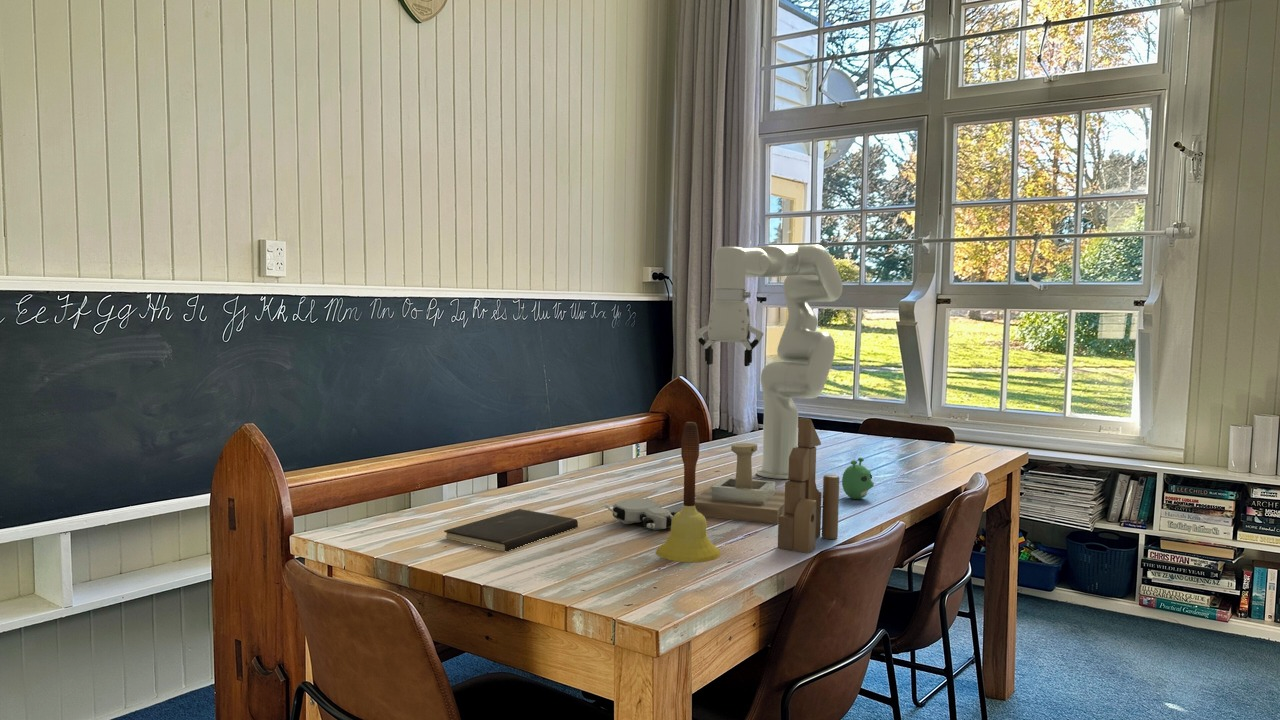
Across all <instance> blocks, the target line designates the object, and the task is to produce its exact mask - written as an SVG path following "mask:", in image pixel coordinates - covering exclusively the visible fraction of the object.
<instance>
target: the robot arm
mask: <svg viewBox="0 0 1280 720" xmlns="http://www.w3.org/2000/svg"><path fill="white" fill-rule="evenodd" d="M713 269H714V301H712V302H711V304H710V310H709V315H708V317H709V318H708V324H707V325H705V326H703V327H701V328H699V329H696V330H695V331H694V333H695V336H696V338H697V340H698V342H699V343H700V345H701V346H702V347H703V349H704V361H705V362H706V365H707V366H711V365H713V363H714V361H713V360H714V349H713V348H712V347H713V345H714V344H715V343H716V342H718V343H719V342H720V343H742V344H743V346H744V347H745V350H744V352H743V353H744V355H743V356H744V359H743V361H744V362H743V365H744V367H750V366H751V363H752V362H753V350H754V349H755V348H756V346H758V345H759V344H760V341H762V338H763V336H764V332H763V331H761V330H759V329H757V328H755V327H754V326H752V325H751V315H750V314H751V313H750V307H749V302H745V301H746V299H749V298H751V292H750V291H747V290H746V278H777V277H778V278H779V277H785V278H784V282H783V293H784V299H785V302H786V303H785V304H786V307H787V312H788V316H787V321H786V323H785V326H784V330H783V331H782V334H781V337H780V339H779V342H778V346H777V351H776V352H777V356H778V358H779V360H780V361H774V362H770V363H768V364H766V365H765V366H764V367H763V368H762V371H761V374H760V384H761V390H762V397H763V398H762V399H763V422H762V423H763V425H762V426H763V428H762V429H763V430H762V464H761V466H762V467H759V468H757V469H756V474H757V475H758V476H760V477H764V478H768V479H776V480H778V479H779V480H781V479H782V480H789V479H788V473H789V456H790V454H791V451H792V449H793V448H794V447H798V419H799V411H798V407H797V406H796V403H795V402H794V400H793V398H797V399H817V398H818V397H819V396H820V395H821V393H823V390H824V387H825V385H826V382H827V380H828V375H829V374H830V371H831V367H832V365H833V362H834V358H835V353H836V352H835V351H836V349H835V348H836V346H835V340H834V338H833V336H832V335H830V334H829V333H828V332H826V331H819V330H818V331H816V330H817V327H818V318H817V315H816V314H815V312H814V311H813V309H812V308H811V306H810V305H809V303H808V302H811V303H812V302H813V303H814V302H815V303H817V302H818V303H819V302H820V303H831V302H835V301H837V300H838V299H839V298H840V297H841V295H842V293H843V289H844V288H843V281H842V277H841V275H840V273H839V270H838V269H837V266H836V265H835V263H834V260H833V258H832V256H831V255H830V253H829V252H828V250H827V249H826V248H825V247H824V246H822V245H821V244H782V245H780V244H779V245H778V244H771V245H770V244H769V245H760V246H751V247H741V246H721V247H717V249H716V250H715V255H714V257H713ZM705 332H707V337H708V339H705V338H704V333H705ZM751 333H752V334H753V335H755V337H754V340H753V341H750V339H751Z"/></svg>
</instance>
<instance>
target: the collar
mask: <svg viewBox="0 0 1280 720" xmlns="http://www.w3.org/2000/svg"><path fill="white" fill-rule="evenodd" d="M735 481H736V477H724V478H722V479H720V481H718V482H716V483H715V484H713V485H712V486H711V487H712V500H720V501H731V502H741V503H751V504H762V505H764V504H765V503H766V502H767V501H768V500H769V499H770V498H771V497H772V496H773V495H775V491H776V481H773V480H765V479H764V480H762V479H761V480H760V479H752V489H748V488H737V487H735V485H736V484H735Z"/></svg>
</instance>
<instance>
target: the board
mask: <svg viewBox="0 0 1280 720" xmlns="http://www.w3.org/2000/svg"><path fill="white" fill-rule="evenodd" d="M784 502H785V490H784V491H783V490H775V495H773V496H772V497H771V498H770V499H769V500H768V501H767V502H766V503H765V504H764V505H762V504H751V503H741V502H731V501H720V500H712V486H711V487H709V488H708V489H706V490H705V491H703V492H702V493H699V495H697V496H695V507H696V510H697V511H698V512H699V513H701V514H702V515H703V516H704V517H705V518H716V519H727V520H737V521H745V522H754V523H755V522H757V523H764V524H775V525H777V524H778V517H779V516H780V515H782V514H785V513H784Z"/></svg>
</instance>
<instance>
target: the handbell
mask: <svg viewBox="0 0 1280 720" xmlns="http://www.w3.org/2000/svg"><path fill="white" fill-rule="evenodd" d="M680 446H681V447H680V448H681V449H680V451H681V452H680V453H681V459H682V463H683V504H682V505H683V506H682V509H681V510H680V511H678V512H676V514H675V515H674V516H673V518H672V523H671V527H670V535H669V537H668V538H667V539H666V541H664V542H663V543H661V544H660V545H659V546H658V548H657V549H656V551H655V553H656V555H657V556H659V557H660V558H662V559H664V560H665V559H666V560H668V561H674V562H681V563H702V562H703V563H704V562H709V561H713V560H717V559H718V558H720V556H721V555H722V554H721V551H720V550H719V548H718V547H717V546H716V545H715V544H714V543H712V542H711V540H710V539H709V538H708V536H707V519H706V516H703V515H702V514H701V513H699V512H698V511H697V510H696V507H695V498H696V472H697V471H696V468H697V463H698V459H699V457H700V435H699V429H698V424H697V423H696V421H695V422H694V421H686V422H685V423H684V426H683V431H682V436H681V445H680Z"/></svg>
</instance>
